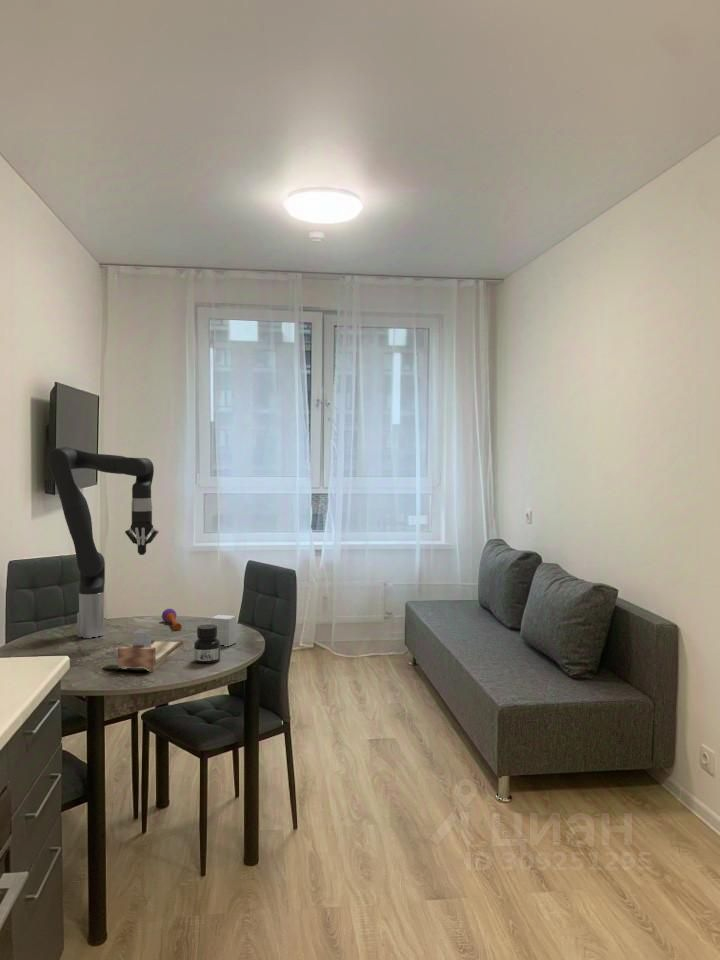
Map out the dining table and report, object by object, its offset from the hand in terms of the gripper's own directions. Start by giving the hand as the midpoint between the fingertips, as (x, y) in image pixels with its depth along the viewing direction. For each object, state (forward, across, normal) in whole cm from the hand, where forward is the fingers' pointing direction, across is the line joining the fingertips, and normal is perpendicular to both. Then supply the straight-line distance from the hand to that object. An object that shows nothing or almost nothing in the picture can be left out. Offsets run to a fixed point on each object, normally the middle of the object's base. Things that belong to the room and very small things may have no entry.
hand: (142, 554), depth 277 cm
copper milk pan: (+33, +13, -24) cm, 43 cm away
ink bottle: (+33, +33, -26) cm, 54 cm away
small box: (+33, +33, -4) cm, 47 cm away
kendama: (+34, +4, +24) cm, 41 cm away
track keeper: (+31, +13, -35) cm, 48 cm away
